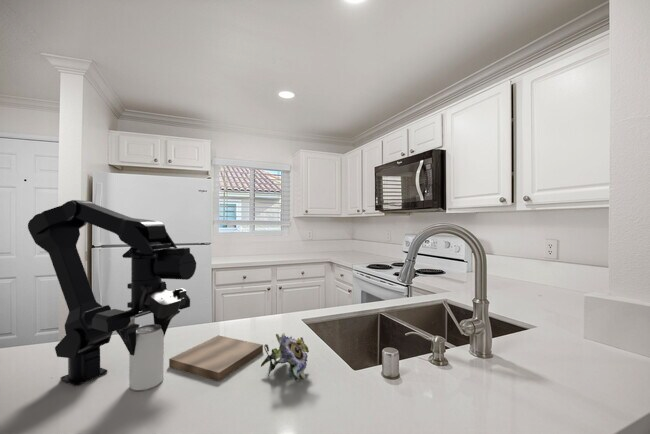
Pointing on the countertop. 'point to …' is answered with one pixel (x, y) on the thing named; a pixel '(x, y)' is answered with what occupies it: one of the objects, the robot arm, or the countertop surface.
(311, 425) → the countertop surface
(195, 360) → the cutting board
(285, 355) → the passion flower
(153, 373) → the can
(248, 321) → the countertop surface
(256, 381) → the countertop surface
